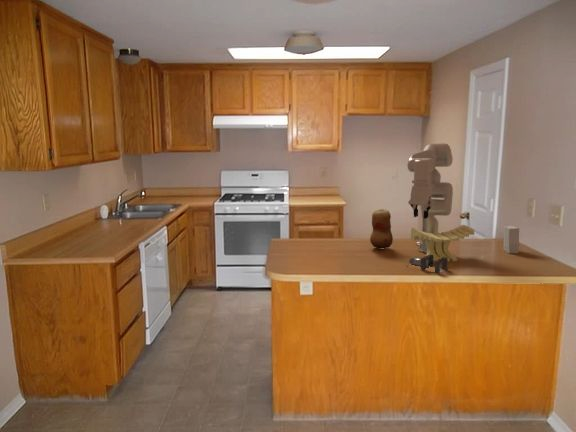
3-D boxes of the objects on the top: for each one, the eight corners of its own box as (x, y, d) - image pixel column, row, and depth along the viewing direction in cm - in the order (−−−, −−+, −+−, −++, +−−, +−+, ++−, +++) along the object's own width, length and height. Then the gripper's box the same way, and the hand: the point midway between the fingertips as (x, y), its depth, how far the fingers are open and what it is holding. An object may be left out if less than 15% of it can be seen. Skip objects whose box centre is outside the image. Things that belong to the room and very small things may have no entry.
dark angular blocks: (434, 272, 233) (434, 258, 232) (443, 268, 240) (443, 254, 238) (438, 273, 232) (438, 259, 231) (447, 269, 238) (447, 255, 237)
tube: (409, 265, 247) (409, 257, 246) (413, 263, 250) (413, 256, 249) (425, 269, 240) (425, 261, 239) (429, 267, 243) (430, 259, 242)
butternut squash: (368, 251, 281) (367, 211, 276) (372, 245, 293) (372, 207, 288) (390, 252, 276) (390, 212, 271) (394, 246, 288) (394, 208, 283)
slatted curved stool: (460, 253, 268) (461, 223, 265) (473, 260, 253) (474, 229, 249) (410, 256, 266) (411, 226, 263) (420, 264, 251) (420, 232, 247)
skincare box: (518, 253, 263) (520, 228, 260) (508, 253, 263) (509, 228, 260) (512, 249, 271) (514, 225, 268) (502, 249, 272) (503, 225, 269)
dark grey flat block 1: (420, 269, 239) (420, 258, 238) (429, 265, 245) (429, 254, 244) (424, 270, 238) (424, 258, 237) (433, 266, 244) (433, 254, 243)
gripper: (403, 183, 241) (402, 216, 245) (432, 185, 229) (431, 220, 232) (410, 181, 246) (410, 214, 250) (440, 183, 234) (439, 218, 237)
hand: (420, 217), depth 241 cm, fingers open, 5 cm apart
